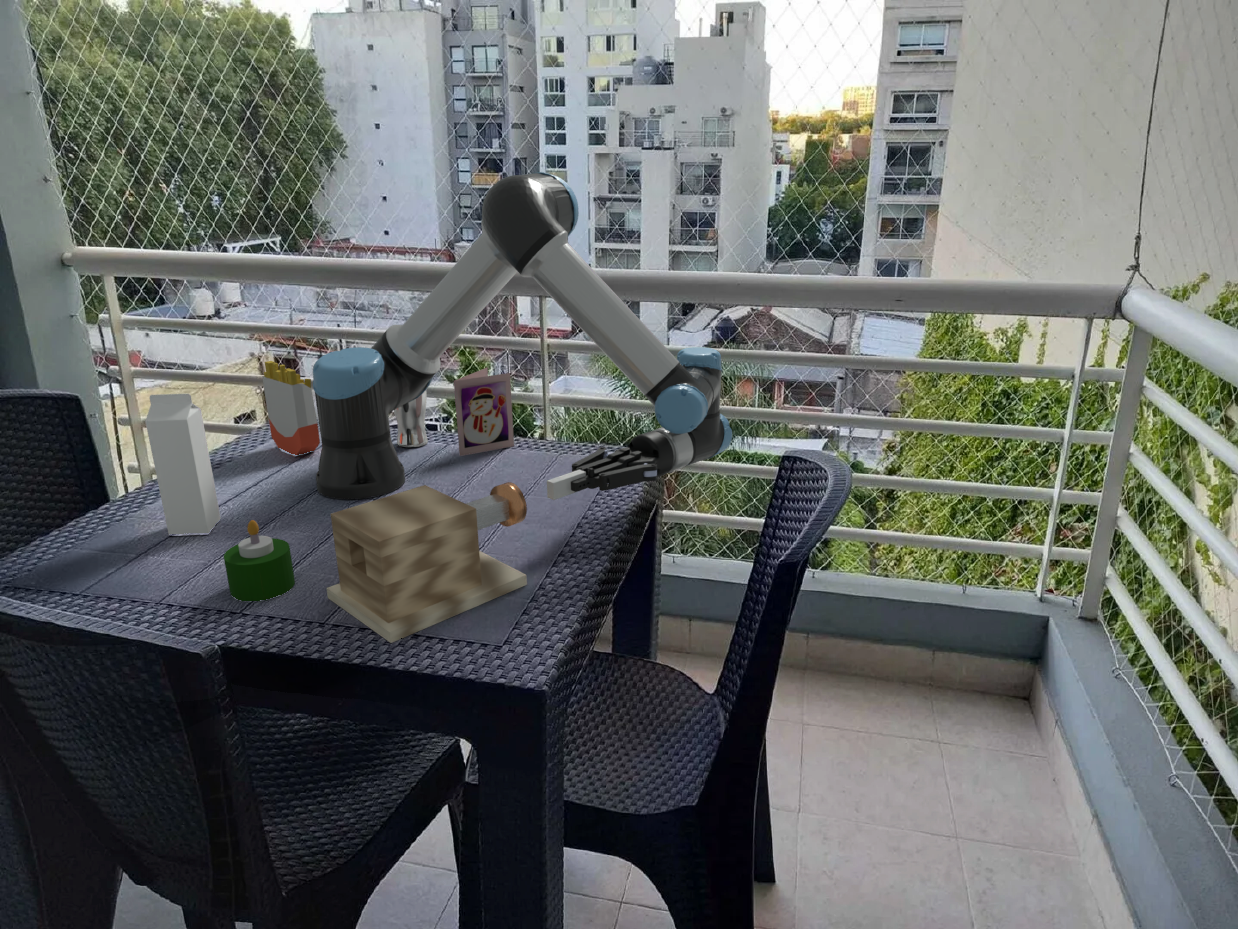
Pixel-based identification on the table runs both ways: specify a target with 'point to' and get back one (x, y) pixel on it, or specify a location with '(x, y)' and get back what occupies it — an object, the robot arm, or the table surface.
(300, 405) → the french fries container
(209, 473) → the milk
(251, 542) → the candle
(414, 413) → the beer glass
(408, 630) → the press block
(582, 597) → the table surface
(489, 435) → the greeting card
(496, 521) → the door knob
